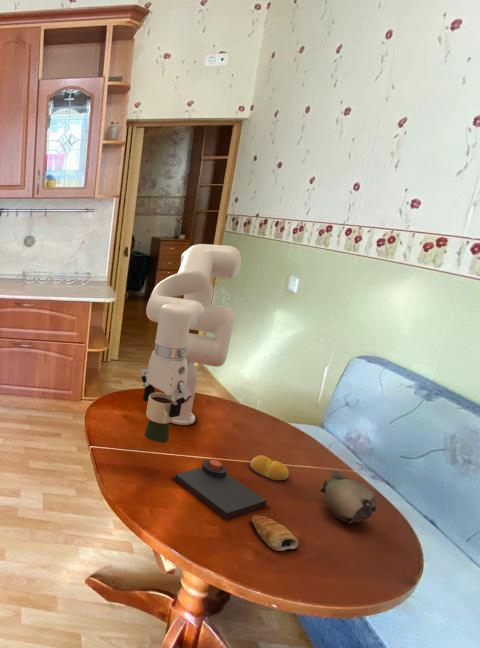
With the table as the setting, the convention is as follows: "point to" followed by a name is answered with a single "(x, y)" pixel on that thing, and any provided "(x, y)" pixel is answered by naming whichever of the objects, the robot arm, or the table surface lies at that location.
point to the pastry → (274, 533)
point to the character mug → (158, 417)
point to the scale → (220, 491)
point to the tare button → (215, 464)
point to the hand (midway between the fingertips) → (160, 407)
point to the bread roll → (269, 468)
